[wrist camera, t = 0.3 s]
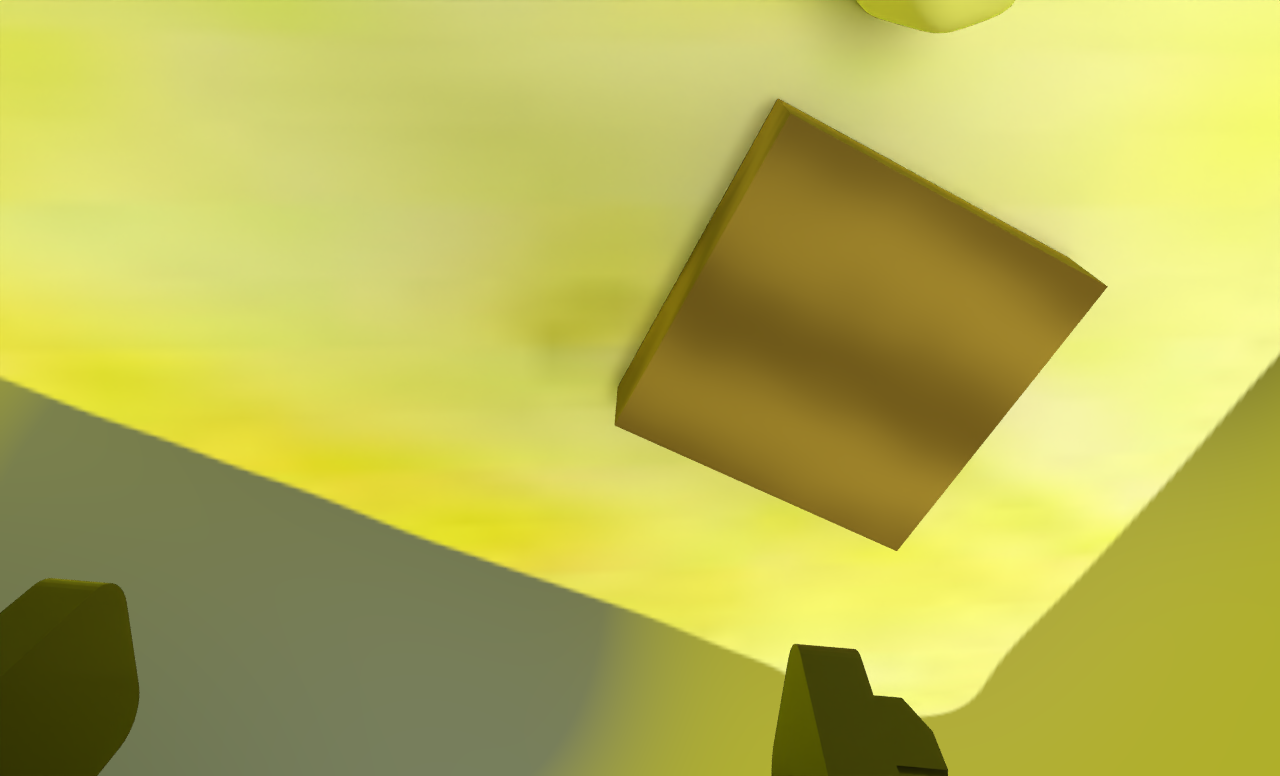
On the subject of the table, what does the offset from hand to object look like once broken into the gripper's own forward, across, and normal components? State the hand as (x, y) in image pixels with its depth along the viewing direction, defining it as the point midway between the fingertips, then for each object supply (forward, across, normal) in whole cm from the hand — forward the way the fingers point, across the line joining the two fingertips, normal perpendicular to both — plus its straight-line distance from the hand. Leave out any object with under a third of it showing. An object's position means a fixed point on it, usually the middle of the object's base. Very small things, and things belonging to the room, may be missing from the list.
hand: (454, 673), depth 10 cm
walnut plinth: (+23, -9, +1) cm, 24 cm away
